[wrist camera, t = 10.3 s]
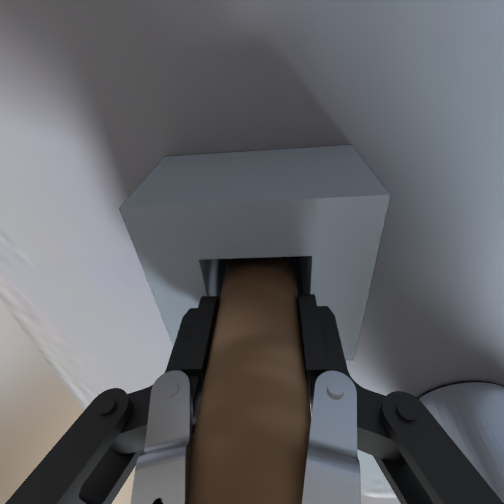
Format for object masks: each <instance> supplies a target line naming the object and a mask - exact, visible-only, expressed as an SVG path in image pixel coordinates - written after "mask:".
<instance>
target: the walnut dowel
mask: <svg viewBox="0 0 504 504" xmlns="http://www.w3.org/2000/svg"><path fill="white" fill-rule="evenodd" d="M310 427H311V411H310V402H309V393H308V383H307V380H306V373H305V364H304V354H303V345H302V336H301V326H300V317H299V307H298V291H297V282H296V273H295V268H294V266H293V264H292V262H291V261H290V260H289V259H288V258H287V257H264V258H233V259H230V261H229V262H228V264H227V266H226V270H225V275H224V280H223V285H222V290H221V295H220V301H219V306H218V311H217V316H216V321H215V327H214V332H213V337H212V342H211V347H210V352H209V358H208V363H207V368H206V373H205V378H204V383H203V388H202V394H201V399H200V404H199V409H198V414H197V419H196V425H195V430H194V435H193V445H192V456H191V472H190V491H189V504H302V498H303V489H304V480H305V471H306V462H307V453H308V445H309V436H310Z"/></svg>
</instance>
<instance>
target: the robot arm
mask: <svg viewBox="0 0 504 504" xmlns="http://www.w3.org/2000/svg"><path fill="white" fill-rule="evenodd" d="M219 301H220V300H219V297H218V296H202V297H201V298H200V302H199V306H198V308H190V309H189V310H188V311H187V312H186V314H185V315H184V316H183V318H182V321H181V324H180V329H179V331H178V334H177V338H176V340H175V343H174V347H173V350H172V353H171V356H170V359H169V363H168V366H167V369H166V371H165V373H164V374H163V375H161V376H160V377H159V378H158V379H157V380H156V381H155V383H154V384H153V385H152V386H150V387H148V388H145V389H142V390H139V391H136V392H133V393H130V394H127V393H126V392H125V391H124V390H122V389H119V388H113V389H109V390H106V391H104V392H102V393H101V394H100V395H98V396H97V397H96V398H95V399H94V400H93V401H92V403H91V404H90V405H89V406H88V407H87V408H86V410H85V411H84V412H83V413H82V414H81V415H80V417H79V418H78V419H77V420H76V421H75V422H74V424H73V425H72V426H71V427H70V428H69V430H68V431H67V432H66V433H65V434H64V435H63V437H62V438H61V439H60V440H59V441H58V442H57V444H56V445H55V446H54V447H53V449H52V450H51V451H50V452H49V453H48V454H47V455H46V457H45V458H44V459H43V460H42V461H41V463H40V464H39V465H38V466H37V467H36V468H35V469H34V471H33V472H32V473H31V474H30V475H29V476H28V478H27V479H26V480H25V481H24V482H23V484H22V485H21V486H20V487H19V488H18V489H17V491H16V492H15V493H14V494H13V495H12V496H11V498H10V499H9V500H8V501H7V502H6V503H5V504H111V503H112V502H113V500H114V499H115V497H116V496H117V494H118V492H119V491H120V489H121V488H122V486H123V484H124V483H125V481H126V480H127V478H128V477H129V475H130V473H131V472H132V470H133V468H134V467H135V465H136V468H135V475H134V483H133V491H132V498H131V504H189V491H190V472H191V456H192V445H193V435H194V430H195V425H196V419H197V414H198V409H199V404H200V399H201V394H202V388H203V383H204V378H205V373H206V368H207V363H208V358H209V352H210V347H211V342H212V337H213V332H214V327H215V321H216V316H217V311H218V306H219ZM298 307H299V317H300V326H301V336H302V345H303V354H304V364H305V373H306V380H307V383H308V393H309V402H310V403H311V411H312V418H311V427H310V436H309V445H308V453H307V462H306V471H305V480H304V489H303V498H302V504H361V481H360V464H359V460H358V457H357V449H358V450H361V451H363V452H366V453H368V454H371V455H373V457H374V458H375V460H376V462H377V463H378V465H379V467H380V469H381V470H382V472H383V474H384V475H385V477H386V479H387V481H388V482H389V484H390V486H391V487H392V489H393V491H394V493H395V494H396V496H397V498H398V499H399V501H400V503H401V504H504V387H502V386H499V385H496V384H492V383H484V382H469V383H459V384H454V385H449V386H445V387H442V388H438V389H436V390H434V391H431V392H429V393H427V394H425V395H424V396H422V397H421V398H419V399H417V398H416V397H414V396H413V395H411V394H408V393H406V392H399V391H397V392H392V393H390V394H388V395H387V396H384V395H381V394H378V393H375V392H372V391H369V390H366V389H364V388H362V387H361V386H359V385H358V384H357V383H356V382H355V381H354V380H353V379H352V378H351V376H350V375H349V372H348V370H347V366H346V361H345V357H344V353H343V349H342V344H341V340H340V337H339V331H338V328H337V323H336V319H335V315H334V314H333V312H332V311H331V310H330V308H329V307H328V306H317V303H316V297H315V294H298Z"/></svg>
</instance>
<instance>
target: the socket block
mask: <svg viewBox="0 0 504 504" xmlns="http://www.w3.org/2000/svg"><path fill="white" fill-rule="evenodd" d="M389 200H390V193H389V192H388V191H387V190H386V188H385V187H384V186H383V184H382V183H381V182H380V180H379V179H378V178H377V177H376V175H375V174H374V173H373V171H372V170H371V169H370V167H369V166H368V165H367V164H366V162H365V161H364V160H363V158H362V157H361V156H360V155H359V153H358V152H357V151H356V149H355V148H354V147H353V145H336V146H321V147H305V148H290V149H274V150H258V151H243V152H227V153H212V154H196V155H180V156H165V157H164V158H163V159H162V160H161V161H160V163H159V164H158V165H157V166H156V167H155V168H154V169H153V170H152V172H151V173H150V174H149V175H148V176H147V177H146V178H145V179H144V181H143V182H142V183H141V184H140V185H139V186H138V187H137V188H136V190H135V191H134V192H133V193H132V194H131V195H130V196H129V197H128V199H127V200H126V201H125V202H124V203H123V204H122V205H121V207H120V208H119V209H120V212H121V214H122V217H123V219H124V222H125V224H126V227H127V230H128V232H129V235H130V237H131V240H132V242H133V245H134V247H135V250H136V253H137V255H138V258H139V260H140V263H141V265H142V268H143V271H144V273H145V276H146V278H147V281H148V283H149V286H150V288H151V291H152V294H153V296H154V299H155V301H156V304H157V306H158V309H159V311H160V314H161V317H162V319H163V322H164V324H165V327H166V329H167V332H168V334H169V337H170V340H171V342H172V345H173V347H174V343H175V340H176V338H177V334H178V331H179V329H180V324H181V321H182V318H183V316H184V315H185V314H186V312H187V311H188V310H189V309H190V308H198V306H199V302H200V298H201V297H202V296H218V297H219V300H220V295H221V290H222V285H223V280H224V275H225V270H226V266H227V264H228V262H229V260H228V259H233V258H264V257H295V256H299V259H289V260H290V261H291V262H292V264H293V266H294V268H295V273H296V282H297V291H298V294H315V297H316V303H317V306H328V307H329V308H330V310H331V311H332V312H333V314H334V315H335V319H336V323H337V328H338V331H339V337H340V340H341V344H342V349H343V353H344V357H345V360H354V357H355V353H356V348H357V344H358V339H359V335H360V330H361V326H362V321H363V317H364V312H365V308H366V303H367V299H368V294H369V290H370V285H371V281H372V276H373V272H374V267H375V263H376V258H377V254H378V249H379V245H380V240H381V236H382V231H383V227H384V222H385V218H386V213H387V209H388V204H389Z"/></svg>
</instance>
